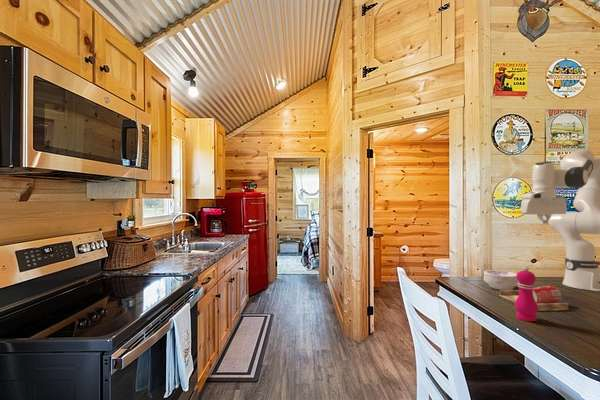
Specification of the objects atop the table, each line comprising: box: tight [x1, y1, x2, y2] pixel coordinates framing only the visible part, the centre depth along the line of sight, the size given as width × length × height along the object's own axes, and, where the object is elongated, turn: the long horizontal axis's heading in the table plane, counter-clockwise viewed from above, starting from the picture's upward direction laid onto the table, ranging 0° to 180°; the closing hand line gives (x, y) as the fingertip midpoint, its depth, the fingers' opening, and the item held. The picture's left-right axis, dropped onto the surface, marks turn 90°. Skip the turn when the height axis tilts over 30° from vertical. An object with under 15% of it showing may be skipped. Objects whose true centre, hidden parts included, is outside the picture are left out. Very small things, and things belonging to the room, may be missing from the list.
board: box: [498, 289, 569, 312], centre depth 135 cm, size 15×20×2 cm
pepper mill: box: [514, 266, 539, 323], centre depth 116 cm, size 7×7×20 cm
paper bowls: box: [483, 269, 519, 291], centre depth 157 cm, size 15×15×8 cm
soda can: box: [533, 285, 562, 304], centre depth 132 cm, size 7×7×13 cm
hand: (544, 223), depth 145 cm, fingers closed
